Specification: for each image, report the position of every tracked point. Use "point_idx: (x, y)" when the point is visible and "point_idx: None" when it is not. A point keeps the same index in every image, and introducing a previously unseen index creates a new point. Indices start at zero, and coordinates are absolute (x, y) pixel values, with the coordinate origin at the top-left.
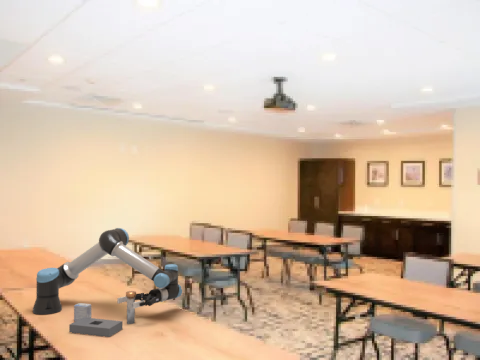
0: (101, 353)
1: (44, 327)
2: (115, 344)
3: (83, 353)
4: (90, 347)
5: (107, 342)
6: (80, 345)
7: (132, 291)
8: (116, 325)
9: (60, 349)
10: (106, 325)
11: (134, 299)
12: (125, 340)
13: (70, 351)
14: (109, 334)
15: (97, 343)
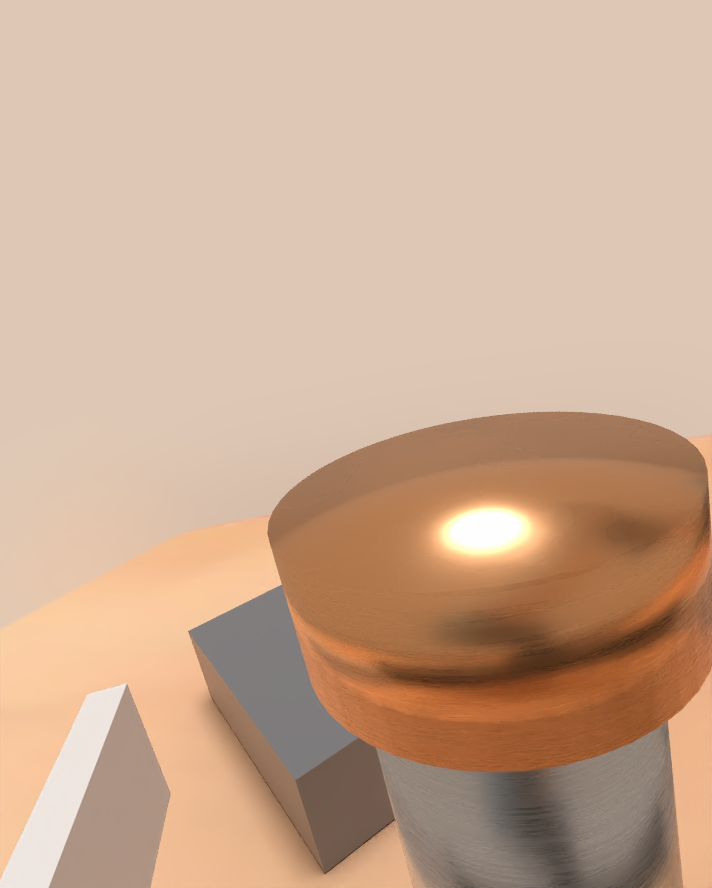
0: (27, 627)
1: (706, 450)
2: (36, 706)
3: (125, 573)
4: (161, 596)
5: (128, 672)
6: (239, 566)
7: (609, 502)
8: (237, 703)
9: (269, 517)
10: (291, 622)
11: (407, 797)
12: (5, 790)
13: (206, 540)
14: (206, 679)
15: (178, 626)
